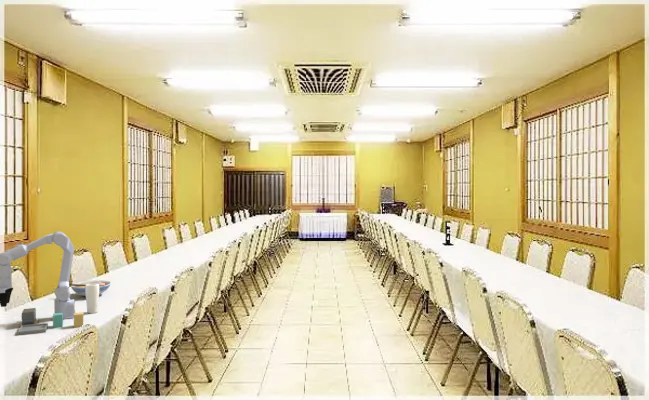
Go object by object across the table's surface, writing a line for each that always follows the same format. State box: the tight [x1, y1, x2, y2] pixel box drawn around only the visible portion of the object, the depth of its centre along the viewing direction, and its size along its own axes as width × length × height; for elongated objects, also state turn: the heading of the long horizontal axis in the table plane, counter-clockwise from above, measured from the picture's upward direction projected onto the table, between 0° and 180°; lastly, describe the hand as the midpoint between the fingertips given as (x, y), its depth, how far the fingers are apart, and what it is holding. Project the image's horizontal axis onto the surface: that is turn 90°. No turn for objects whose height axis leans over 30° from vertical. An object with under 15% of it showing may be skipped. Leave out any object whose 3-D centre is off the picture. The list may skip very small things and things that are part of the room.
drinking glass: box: [85, 283, 100, 314], centre depth 264 cm, size 7×7×15 cm
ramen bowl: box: [69, 279, 112, 298], centre depth 304 cm, size 25×23×8 cm
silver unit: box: [18, 307, 39, 329], centre depth 241 cm, size 7×10×7 cm
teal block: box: [52, 313, 64, 329], centre depth 238 cm, size 4×4×6 cm
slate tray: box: [17, 322, 49, 336], centre depth 231 cm, size 11×11×2 cm
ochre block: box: [73, 312, 84, 328], centre depth 239 cm, size 4×4×6 cm
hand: (5, 304), depth 240 cm, fingers open, 7 cm apart
